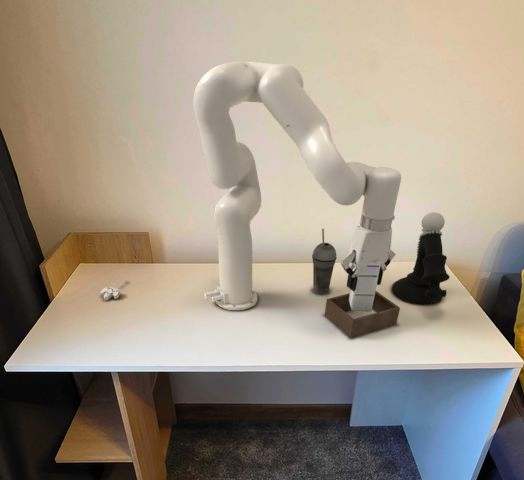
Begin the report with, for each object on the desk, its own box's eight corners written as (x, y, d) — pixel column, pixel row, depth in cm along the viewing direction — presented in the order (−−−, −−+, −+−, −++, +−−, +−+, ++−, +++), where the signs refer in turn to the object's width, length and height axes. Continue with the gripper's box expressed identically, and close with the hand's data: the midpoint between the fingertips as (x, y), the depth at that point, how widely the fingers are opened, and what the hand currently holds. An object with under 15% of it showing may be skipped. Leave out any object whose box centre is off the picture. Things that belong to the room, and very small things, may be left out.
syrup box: (371, 311, 123) (382, 263, 115) (350, 311, 123) (359, 262, 115) (368, 301, 128) (378, 253, 119) (347, 300, 128) (356, 252, 119)
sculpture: (433, 281, 147) (454, 205, 132) (459, 321, 128) (486, 237, 113) (386, 281, 147) (402, 204, 132) (405, 320, 128) (426, 236, 113)
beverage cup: (331, 298, 138) (339, 235, 126) (307, 295, 139) (313, 232, 127) (333, 286, 144) (340, 225, 132) (310, 284, 145) (315, 223, 133)
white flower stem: (98, 300, 134) (96, 293, 133) (109, 282, 144) (107, 275, 142) (117, 301, 134) (115, 293, 133) (127, 283, 144) (126, 275, 142)
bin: (350, 338, 121) (353, 321, 117) (324, 315, 130) (326, 298, 126) (396, 324, 126) (400, 307, 123) (368, 303, 135) (371, 287, 132)
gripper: (393, 212, 117) (380, 273, 128) (337, 221, 110) (328, 285, 121) (413, 222, 112) (398, 285, 122) (355, 232, 105) (344, 298, 116)
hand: (363, 285), depth 122 cm, fingers closed on syrup box, 7 cm apart
